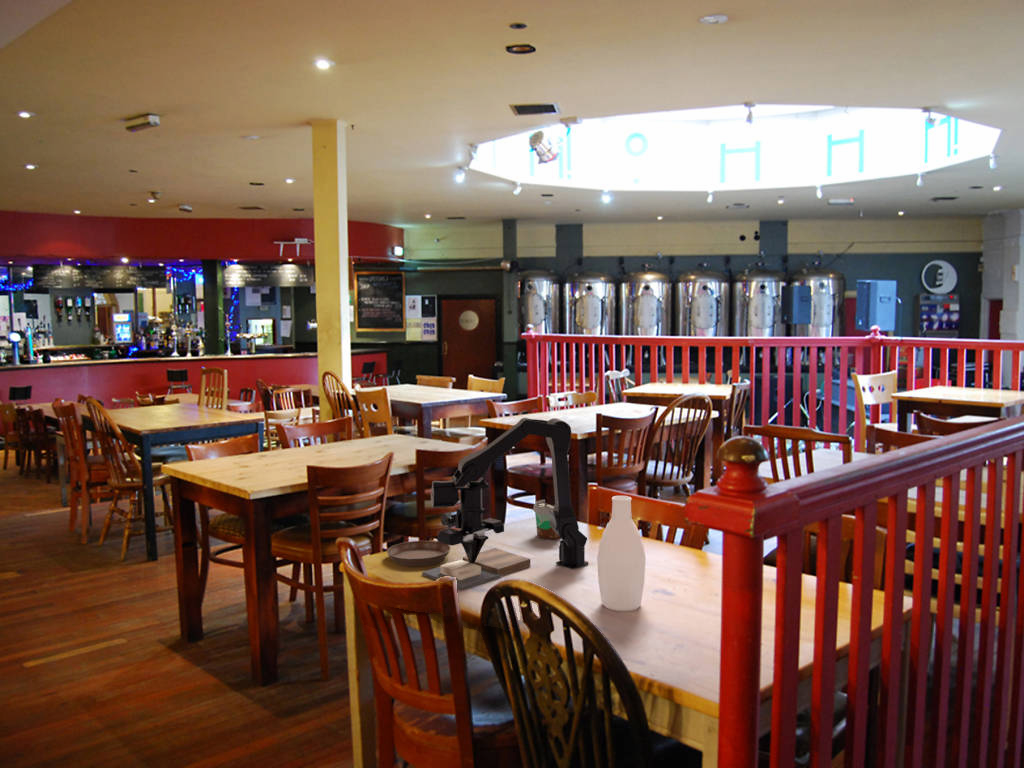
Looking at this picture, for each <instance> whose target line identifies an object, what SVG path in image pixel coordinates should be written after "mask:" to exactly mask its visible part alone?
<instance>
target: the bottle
mask: <svg viewBox="0 0 1024 768" xmlns="http://www.w3.org/2000/svg"><path fill="white" fill-rule="evenodd" d="M632 499H633V498H632V497H631V496H628V495H614V496H612V497H611V501H612V503H611V504H612V506H611V518H610V519H609V522H608V523H607V525H606V527H605V528H604V530H603V533H602V536H601V539H600V542H599V545H598V549H597V550H598V552H597V577H598V579H597V581H598V587H599V593H600V601H601V603H602V605H603V607H604V606H605V607H604V608H606V609H607V608H608V609H607V610H610V611H614V610H615V611H616V612H631V611H635V610H637V609H638V608H639V607H641V605H642V599H643V593H644V588H645V587H644V586H645V579H646V577H645V576H646V575H645V574H646V559H647V558H646V553H645V552H646V551H645V545H644V542H643V538H642V536H641V533H640V530H639V529H638V527H637V526H636V524H635V522H634V520H633V518H632V504H631V503H632V502H631V501H632Z"/></svg>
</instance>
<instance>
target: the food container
mask: <svg viewBox="0 0 1024 768" xmlns="http://www.w3.org/2000/svg"><path fill="white" fill-rule="evenodd" d="M554 506H555V505H553V504H549V503H547V502H546V499H540V500H537V501H535V502H534V505H533V509H532V511H533V512H534V514H535V523H536V536H537V538H539V539H542V540H546V539H548V540H547V541H556V540H557V539H560V538H559V535H558V534H557V533H556V532H555V531H554V530H553V529H552V527H551V526H550V525H549V523H550V516H549V510H550V511H553V510H554ZM560 540H561V539H560ZM557 541H558V540H557Z"/></svg>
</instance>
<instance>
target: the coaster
mask: <svg viewBox="0 0 1024 768" xmlns="http://www.w3.org/2000/svg"><path fill="white" fill-rule="evenodd" d="M440 567H441V573H442V574H445V575H447V576H451V577H456V579H458V580H463V579H466V578H470V577H473V576H476V575H479V574H481V566H478V565H475V564H473V563H470V562H467V561H464V560H463V559H458V560H456V561H451V562H447V563H444V564H441V565H440Z"/></svg>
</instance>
